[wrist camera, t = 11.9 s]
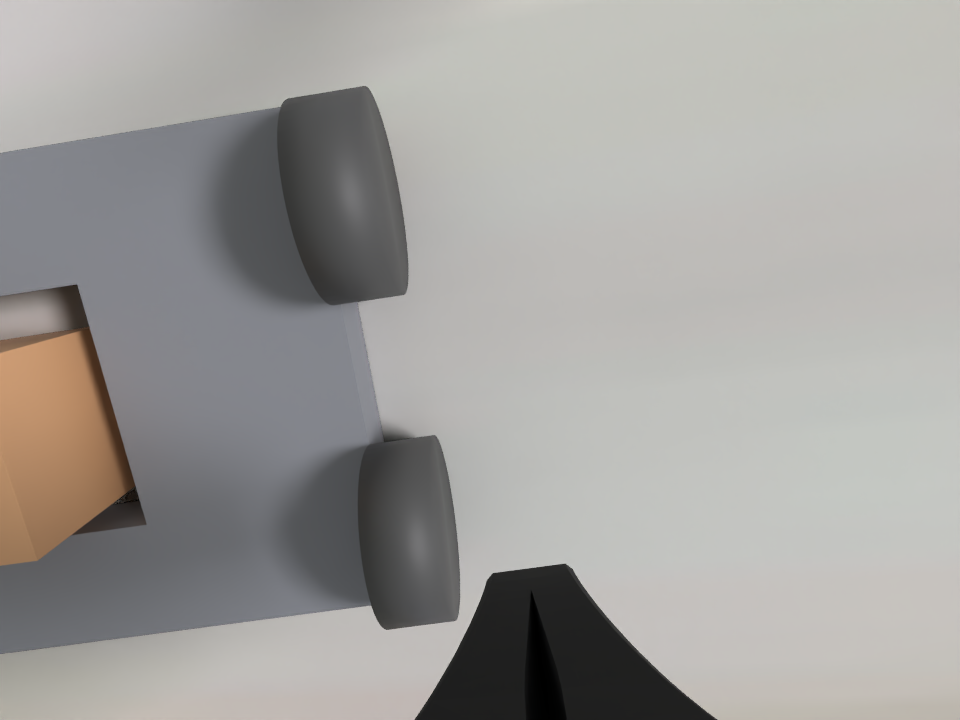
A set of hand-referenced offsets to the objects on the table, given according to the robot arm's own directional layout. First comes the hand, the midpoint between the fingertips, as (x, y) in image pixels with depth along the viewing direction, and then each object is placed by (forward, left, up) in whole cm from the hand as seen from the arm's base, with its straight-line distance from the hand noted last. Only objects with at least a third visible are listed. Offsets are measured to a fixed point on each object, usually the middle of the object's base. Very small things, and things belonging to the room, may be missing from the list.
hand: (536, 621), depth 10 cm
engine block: (+3, +14, -10) cm, 17 cm away
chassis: (+3, +14, -9) cm, 17 cm away
